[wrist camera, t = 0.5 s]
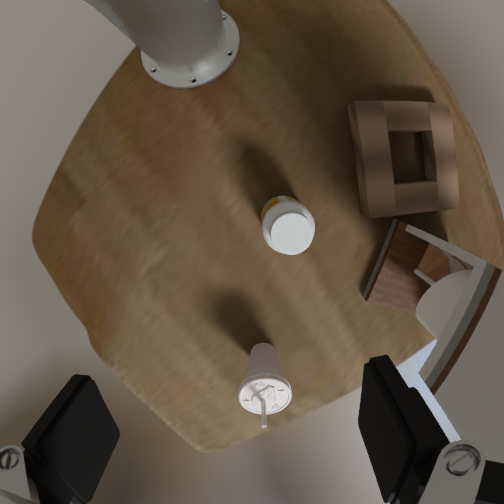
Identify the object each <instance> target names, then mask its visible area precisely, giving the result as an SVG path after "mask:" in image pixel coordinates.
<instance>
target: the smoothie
mask: <svg viewBox="0 0 504 504" xmlns="http://www.w3.org/2000/svg"><path fill="white" fill-rule="evenodd" d="M238 393H239V402H240V403H241V405H242V406H243V407H244V408H245V409H246V410H248V411H250V412H252V413H256V414H261V427H262V428H266V427H267V424H266V414H272V413H276V412H278V411H280V410H282V409H284V408H285V407H286V406H287V405H288V404H289V402H290V400H291V387H290V384H289V383H288V382H287V380H286V379H285V376H284V373H283V370H282V367H281V364H280V361H279V358H278V355H277V352H276V349H275V348H274V346H272V345H271V344H269V343H259V344H256V345H255V346H254V347H253V348H252V349H251V353H250V357H249V361H248V365H247V369H246V373H245V377H244V380H243V382H242V384H241V385H240V387H239V390H238Z"/></svg>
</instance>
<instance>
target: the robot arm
mask: <svg viewBox="0 0 504 504" xmlns="http://www.w3.org/2000/svg"><path fill="white" fill-rule="evenodd" d="M84 1H86V2H87V3H89V4H90V5H92V6H93V7H94V8H95V9H97V10H98V11H99V12H100V13H101V14H103V15H104V16H105V17H106V18H107V19H108V20H109V21H111V22H112V23H113V24H114V25H115V26H116V27H117V28H118V29H119V30H120V31H122V32H123V33H124V34H125V35H126V36H127V37H128V38H129V39H130V40H131V41H132V42H134V43H135V44H136V45H137V46H138V47H139V48H140V49H141V60H142V64H143V66H144V68H145V70H146V71H147V72H148V74H149V75H150V76H151V77H152V78H153V79H155V80H156V81H158V82H159V83H161V84H163V85H166V86H168V87H173V88H193V87H198V86H201V85H204V84H207V83H209V82H211V81H213V80H215V79H217V78H218V77H219V76H221V75H222V74H223V73H224V72H225V71H226V70H227V69H228V68H229V67H230V66H231V65H232V63H233V62H234V60H235V58H236V56H237V53H238V51H239V45H240V36H239V31H238V28H237V25H236V23H235V21H234V20H233V19H232V18H231V16H230V15H228V14H227V13H226V12H225V11H223V10H221V9H220V5H219V1H218V0H84ZM223 19H226V20H223ZM228 54H232V55H231V56H228ZM155 70H156V72H154V71H155ZM193 80H196V82H194V83H193ZM358 424H359V429H360V432H361V435H362V437H363V440H364V443H365V446H366V449H367V452H368V455H369V458H370V461H371V464H372V467H373V470H374V473H375V476H376V479H377V482H378V485H379V488H380V492H381V495H382V498H383V501H384V502H385V503H388V502H390V504H504V463H500V462H495V461H489V460H485V458H486V456H485V453H484V451H483V449H482V448H481V447H480V446H479V445H478V444H476V443H475V442H472V441H468V440H459V441H454V442H452V443H450V442H449V440H448V438H447V437H446V435H445V433H444V432H443V430H442V428H441V427H440V425H439V423H438V422H437V420H436V418H435V417H434V415H433V414H432V412H431V410H430V409H429V407H428V406H427V404H426V403H425V401H424V399H423V398H422V396H421V395H420V393H419V392H418V390H417V389H416V388H414V387H411V388H409V387H408V386H407V384H406V383H405V381H404V380H403V378H402V377H401V375H400V373H399V372H398V370H397V369H396V367H395V365H394V364H393V362H392V361H391V359H390V358H389V356H388V355H382V356H378V357H373V358H370V360H369V363H365V364H364V371H363V382H362V392H361V401H360V409H359V417H358ZM119 436H120V432H119V429H118V427H117V425H116V423H115V421H114V419H113V418H112V416H111V414H110V412H109V410H108V408H107V406H106V404H105V402H104V400H103V398H102V396H101V394H100V392H99V390H98V387H97V385H96V383H95V381H94V380H92V379H91V377H90V376H88V375H78V374H75V375H73V376H72V377H71V379H70V380H69V381H68V383H67V384H66V385H65V386H64V388H63V389H62V390H61V391H60V393H59V394H58V395H57V396H56V398H55V399H54V400H53V402H52V403H51V404H50V405H49V407H48V408H47V409H46V411H45V412H44V413H43V415H42V416H41V417H40V418H39V420H38V421H37V422H36V424H35V425H34V427H33V428H32V429H31V431H30V432H29V433H28V435H27V436H26V438H25V439H24V440H23V441H22V443H21V444H22V446H23V447H24V448H25V450H24V452H23V451H22V450H21V449H20V448H19V447H17V446H14V445H10V446H6V447H3V448H2V449H0V504H69V503H70V501H71V502H72V503H73V504H87V502H89V501H91V499H92V497H93V495H94V493H95V490H96V488H97V486H98V483H99V481H100V479H101V477H102V474H103V472H104V470H105V468H106V466H107V463H108V461H109V459H110V456H111V455H112V453H113V450H114V448H115V446H116V444H117V442H118V440H119Z"/></svg>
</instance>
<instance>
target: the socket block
mask: <svg viewBox="0 0 504 504" xmlns="http://www.w3.org/2000/svg"><path fill="white" fill-rule="evenodd" d="M347 109H348V115H349V121H350V127H351V133H352V140H353V147H354V154H355V162H356V170H357V179H358V189H359V199H360V210H361V215H362V216H364V217H366V218H368V219H373V218H381V217H389V216H397V215H405V214H413V213H421V212H429V211H438V210H446V209H455V208H459V188H458V171H457V159H456V150H455V141H454V133H453V126H452V120H451V114H450V108H449V104H445V103H432V102H415V101H353V102H352V103H350V104H349V105H347ZM388 132H421V139H422V146H423V155H424V165H425V176H426V180H421V181H408V182H395V183H394V178H393V168H392V159H391V150H390V143H389V136H388Z"/></svg>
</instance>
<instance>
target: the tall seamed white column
mask: <svg viewBox="0 0 504 504" xmlns="http://www.w3.org/2000/svg"><path fill="white" fill-rule="evenodd" d="M362 296H363V297H364V299H365V300H366V301H367V302H369V303H373V304H376V305H380V306H383V307H387V308H390V309H394V310H398V311H401V312H405V313H408V314H412V315H415V316H416V318H417V319H418V320H419V321H420V322H421V323H422V324H423V325H424V326H425V328H426V329H427V330H428V331H429V332H430V333H431V334H432V335H433V336H434V337H435V338H436V340H437V343H436V345H435V347H434V348H433V350H432V352H431V354H430V355H429V357H428V358H427V360H426V362H425V363H424V365H423V367H422V368H421V370H420V371H419V375H420V376H421V378H422V379H423V380H424V382H425V383H426V385H427V386H428V388H429V389H430V391H431V392H432V394H433V395H434V397H435V399H436V400H437V402H438V403H439V405H440V406H441V408H442V409H443V411H444V412H445V414H446V415H447V417H448V419H449V420H450V422H451V423H452V425H453V427H454V428H455V430H456V431H457V433H458V435H459V436H460V438H461V439H462V440H468V441H472V442H475V443H476V444H478V445H479V446H480V447H481V448H482V449H483V451H484V453H485V456H486V458H485V460H489V461H495V462H500V463H504V271H503V270H501V269H499V268H497V267H495V266H493V265H492V264H490V263H488V262H486V261H484V260H482V259H480V258H478V257H476V256H474V255H472V254H470V253H468V252H466V251H464V250H462V249H460V248H458V247H456V246H454V245H452V244H450V243H448V242H446V241H444V240H442V239H440V238H437V237H435V236H433V235H431V234H429V233H427V232H424V231H422V230H420V229H418V228H416V227H413V226H411V225H409V224H406V223H404V222H402V221H400V220H397V219H395V218H394V219H393V221H392V224H391V227H390V230H389V232H388V235H387V237H386V240H385V243H384V245H383V248H382V250H381V253H380V255H379V258H378V260H377V263H376V265H375V267H374V270H373V272H372V274H371V277H370V279H369V281H368V284H367V286H366V288H365V290H364V293H363V295H362Z"/></svg>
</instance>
